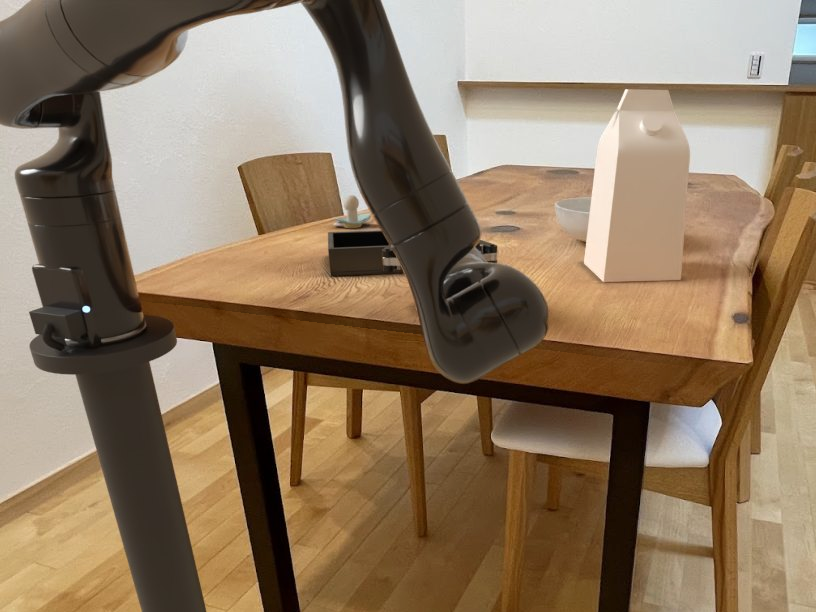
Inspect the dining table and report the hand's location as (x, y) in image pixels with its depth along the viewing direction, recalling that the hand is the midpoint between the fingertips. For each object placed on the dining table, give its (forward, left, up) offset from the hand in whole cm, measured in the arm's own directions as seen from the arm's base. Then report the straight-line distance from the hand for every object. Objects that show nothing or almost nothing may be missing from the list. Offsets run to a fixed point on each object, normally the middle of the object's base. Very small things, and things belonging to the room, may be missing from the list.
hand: (429, 241), depth 84 cm
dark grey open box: (+16, +17, -8) cm, 24 cm away
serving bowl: (+45, -17, -8) cm, 49 cm away
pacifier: (+43, +35, -8) cm, 55 cm away
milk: (+25, -23, -8) cm, 35 cm away
